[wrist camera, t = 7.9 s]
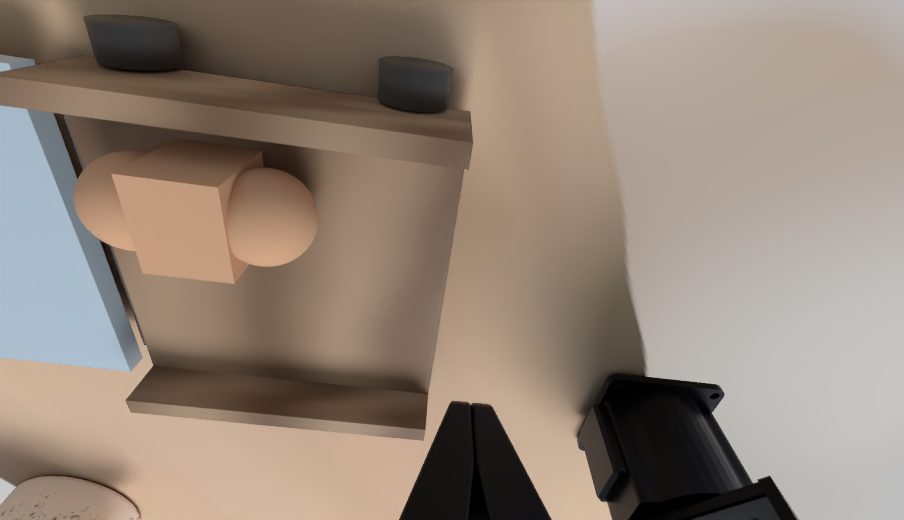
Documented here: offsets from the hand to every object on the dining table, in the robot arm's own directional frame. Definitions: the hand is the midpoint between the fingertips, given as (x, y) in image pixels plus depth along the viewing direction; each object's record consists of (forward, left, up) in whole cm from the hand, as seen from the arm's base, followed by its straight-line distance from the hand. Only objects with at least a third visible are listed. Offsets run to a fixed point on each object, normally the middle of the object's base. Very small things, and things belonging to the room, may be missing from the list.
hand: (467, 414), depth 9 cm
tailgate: (+15, +3, -9) cm, 17 cm away
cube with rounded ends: (+9, 0, -8) cm, 12 cm away
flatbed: (+7, +3, -11) cm, 13 cm away
